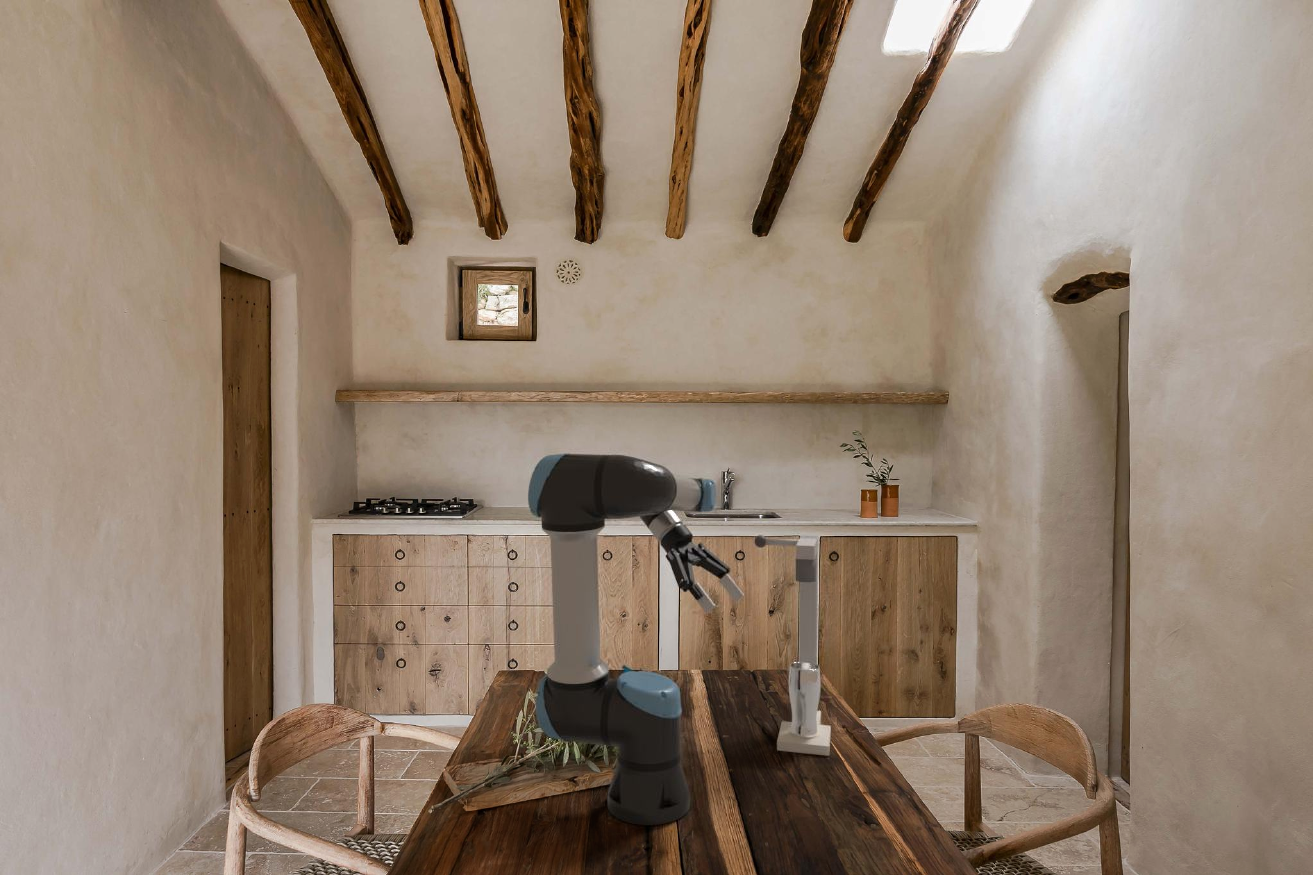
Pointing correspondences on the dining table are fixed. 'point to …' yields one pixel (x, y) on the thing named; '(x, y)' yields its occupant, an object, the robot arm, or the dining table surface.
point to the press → (804, 636)
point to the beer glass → (804, 698)
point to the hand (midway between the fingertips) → (726, 604)
